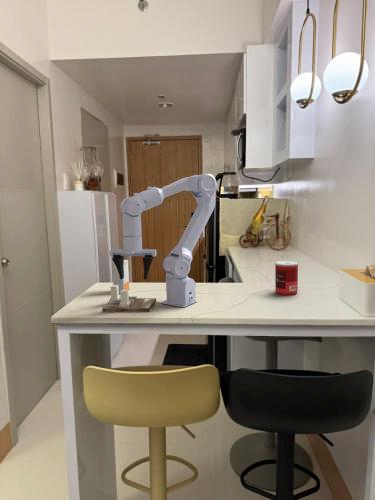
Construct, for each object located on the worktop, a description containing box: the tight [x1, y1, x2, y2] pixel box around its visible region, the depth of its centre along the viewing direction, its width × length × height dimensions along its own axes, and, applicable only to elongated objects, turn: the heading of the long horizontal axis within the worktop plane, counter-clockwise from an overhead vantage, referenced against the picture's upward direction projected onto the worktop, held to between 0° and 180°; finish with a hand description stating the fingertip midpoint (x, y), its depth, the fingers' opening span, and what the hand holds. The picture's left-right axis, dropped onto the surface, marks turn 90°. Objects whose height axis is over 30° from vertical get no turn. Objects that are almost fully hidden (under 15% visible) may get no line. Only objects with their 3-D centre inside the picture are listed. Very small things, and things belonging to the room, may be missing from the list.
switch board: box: [102, 295, 157, 313], centre depth 121 cm, size 15×12×2 cm
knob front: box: [119, 289, 130, 306], centre depth 117 cm, size 3×3×5 cm
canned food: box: [274, 260, 299, 296], centre depth 131 cm, size 8×8×11 cm
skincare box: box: [111, 259, 130, 295], centre depth 139 cm, size 6×4×12 cm
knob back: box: [109, 284, 120, 300], centre depth 124 cm, size 3×3×5 cm
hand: (133, 278), depth 116 cm, fingers open, 7 cm apart
